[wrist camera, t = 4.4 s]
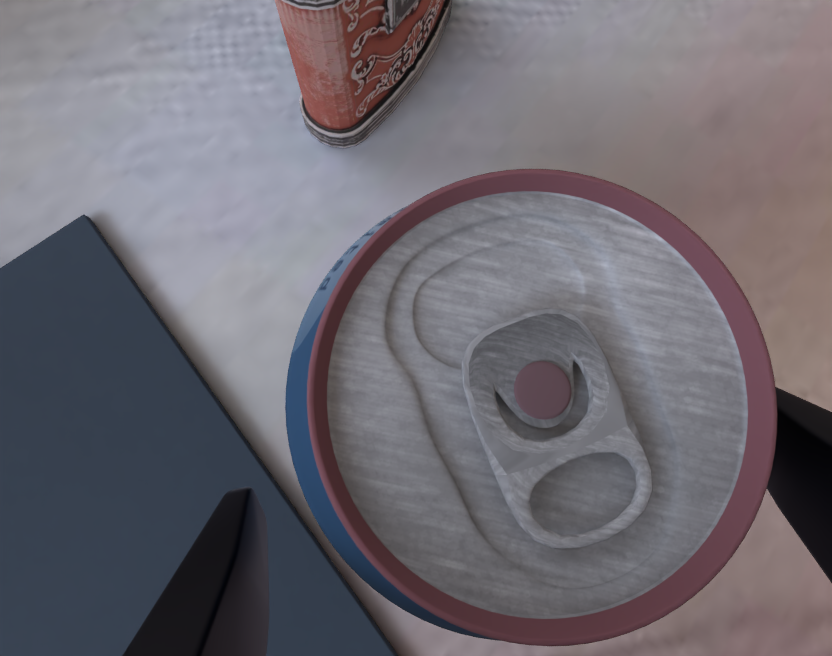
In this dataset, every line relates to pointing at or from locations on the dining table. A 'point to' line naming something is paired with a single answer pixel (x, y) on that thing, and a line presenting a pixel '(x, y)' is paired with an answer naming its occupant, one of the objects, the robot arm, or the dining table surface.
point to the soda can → (532, 409)
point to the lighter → (358, 59)
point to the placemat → (127, 470)
